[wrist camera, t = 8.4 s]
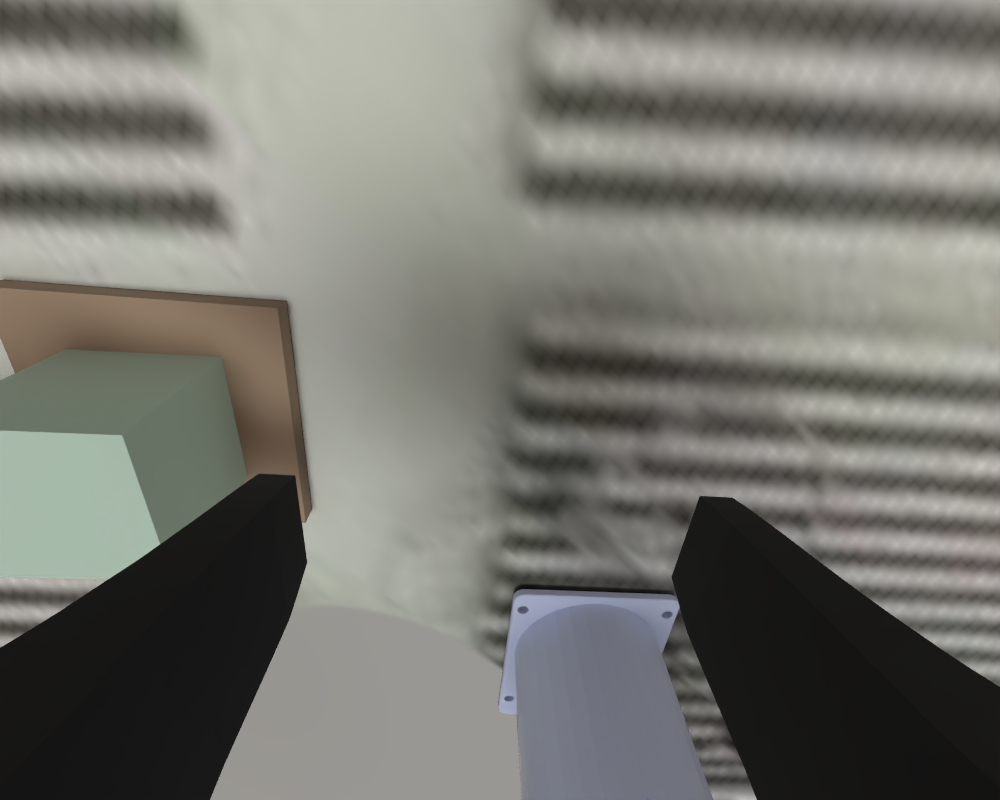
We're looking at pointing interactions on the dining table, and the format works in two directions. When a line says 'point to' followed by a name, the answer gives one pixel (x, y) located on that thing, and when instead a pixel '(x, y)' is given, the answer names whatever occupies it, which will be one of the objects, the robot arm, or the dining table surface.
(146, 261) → the dining table surface
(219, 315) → the walnut board
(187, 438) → the green cube
